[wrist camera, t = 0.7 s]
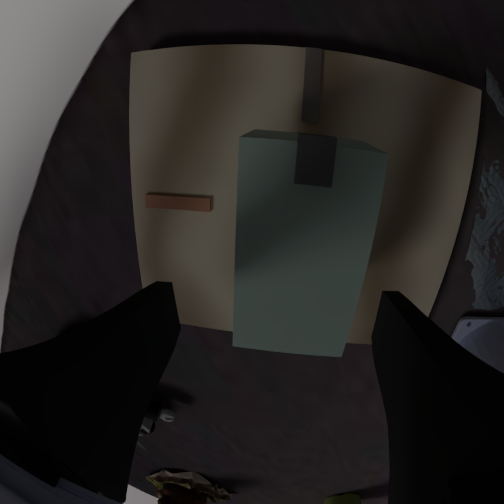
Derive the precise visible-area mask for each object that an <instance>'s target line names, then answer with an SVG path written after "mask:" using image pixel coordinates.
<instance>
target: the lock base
mask: <svg viewBox="0 0 504 504" xmlns="http://www.w3.org/2000/svg"><path fill="white" fill-rule="evenodd" d="M481 93H482V90H480V89H477V88H475V87H472V86H470V85H467V84H464V83H461V82H459V81H456V80H453V79H450V78H447V77H444V76H441V75H438V74H435V73H431V72H428V71H425V70H421V69H418V68H414V67H410V66H406V65H402V64H398V63H394V62H390V61H386V60H381V59H376V58H371V57H366V56H361V55H355V54H350V53H343V52H337V51H330V50H322V49H320V48H311V47H306V48H303V47H292V46H277V45H251V44H226V45H199V46H184V47H173V48H163V49H155V50H147V51H140V52H133V53H131V68H130V103H129V128H130V163H131V182H132V197H133V210H134V221H135V231H136V241H137V249H138V257H139V265H140V273H141V280H142V286H143V288H145V287H147V286H148V285H150V284H152V283H154V282H156V281H163V282H172V284H173V290H174V295H175V300H176V306H177V311H178V316H179V321H180V323H181V324H187V325H194V326H200V327H206V328H213V329H220V330H227V331H233V308H234V269H235V235H236V206H237V180H238V155H239V137H240V136H242V135H244V134H246V133H248V132H250V131H252V130H254V129H259V130H273V131H285V132H296V133H298V132H299V133H309V134H318V135H326V136H334V137H338V138H345V139H352V140H359V141H364V142H366V143H368V144H370V145H372V146H374V147H376V148H378V149H380V150H382V151H384V152H386V153H387V154H389V155H388V162H387V169H386V176H385V182H384V188H383V193H382V199H381V205H380V210H379V215H378V220H377V225H376V230H375V235H374V239H373V244H372V248H371V253H370V257H369V261H368V265H367V269H366V273H365V277H364V281H363V285H362V289H361V293H360V296H359V300H358V304H357V307H356V311H355V314H354V318H353V321H352V325H351V328H350V331H349V334H348V338H347V341H346V343H358V344H372V340H371V336H372V332H373V328H374V324H375V320H376V316H377V312H378V307H379V303H380V298H381V294H382V291H399V292H401V293H402V294H403V295H404V296H405V297H407V298H408V299H409V300H410V301H411V302H412V303H413V304H414V305H415V306H416V307H418V308H419V309H420V310H421V311H422V312H423V313H424V314H425V315H426V316H427V317H428V316H429V313H430V311H431V309H432V306H433V304H434V301H435V298H436V296H437V293H438V291H439V288H440V285H441V282H442V280H443V277H444V274H445V271H446V268H447V265H448V262H449V259H450V256H451V253H452V249H453V246H454V243H455V239H456V236H457V232H458V229H459V225H460V221H461V218H462V214H463V210H464V205H465V201H466V197H467V192H468V188H469V183H470V178H471V173H472V167H473V162H474V156H475V149H476V142H477V135H478V127H479V118H480V107H481Z"/></svg>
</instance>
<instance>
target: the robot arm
mask: <svg viewBox="0 0 504 504" xmlns="http://www.w3.org/2000/svg"><path fill="white" fill-rule="evenodd" d="M468 322H469V323H468ZM180 329H181V326H180V321H179V316H178V311H177V306H176V300H175V295H174V290H173V284H172V282H163V281H156V282H154V283H152V284H150V285H148V286H147V287H145V288H143V289H142V290H140V291H138V292H137V293H135V294H134V295H132V296H131V297H129V298H128V299H126V300H124V301H123V302H121V303H120V304H118V305H117V306H115V307H113V308H112V309H110V310H108V311H107V312H105V313H103V314H101V315H100V316H98V317H96V318H95V319H93V320H91V321H89V322H88V323H86V324H84V325H82V326H80V327H78V328H76V329H74V330H71V331H69V332H67V333H65V334H63V335H60V336H57V337H55V338H52V339H50V340H47V341H44V342H42V343H39V344H36V345H33V346H29V347H26V348H22V349H18V350H15V351H10V352H5V353H0V504H122V503H124V502H125V500H126V493H127V487H128V480H129V474H130V469H131V465H132V460H133V456H134V451H135V447H136V443H137V440H138V436H139V433H140V429H141V426H142V423H143V419H144V416H145V413H146V410H147V407H148V405H149V402H150V400H151V397H152V395H153V393H154V391H155V389H156V387H157V385H158V383H159V381H160V378H161V376H162V374H163V372H164V370H165V368H166V366H167V364H168V362H169V360H170V357H171V355H172V353H173V351H174V348H175V345H176V342H177V339H178V335H179V332H180ZM371 340H372V349H373V358H374V364H375V368H376V372H377V377H378V381H379V385H380V389H381V394H382V398H383V403H384V407H385V412H386V417H387V424H388V436H389V460H390V476H389V498H388V504H504V317H469V316H465V317H462V318H461V319H460V320H459V322H458V324H457V326H456V328H455V330H454V332H453V334H452V336H451V337H450V336H449V335H448V334H446V333H445V332H444V331H443V330H442V329H441V328H439V327H438V326H437V325H436V324H435V323H434V322H433V321H432V320H430V319H429V318H428V317H427V316H426V315H425V314H424V313H423V312H422V311H421V310H420V309H419V308H418V307H416V306H415V305H414V304H413V303H412V302H411V301H410V300H409V299H408V298H407V297H405V296H404V295H403V294H402V293H401V292H399V291H382V294H381V298H380V303H379V307H378V312H377V316H376V320H375V324H374V328H373V332H372V336H371Z"/></svg>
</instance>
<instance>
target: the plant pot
mask: <svg viewBox="0 0 504 504" xmlns="http://www.w3.org/2000/svg"><path fill="white" fill-rule="evenodd" d="M324 504H361V498H360V496H359V495H358V494H351V493H346V494H343V495H340V496H339V495H332V496H330V497H328V498H326V499H325V502H324Z"/></svg>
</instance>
